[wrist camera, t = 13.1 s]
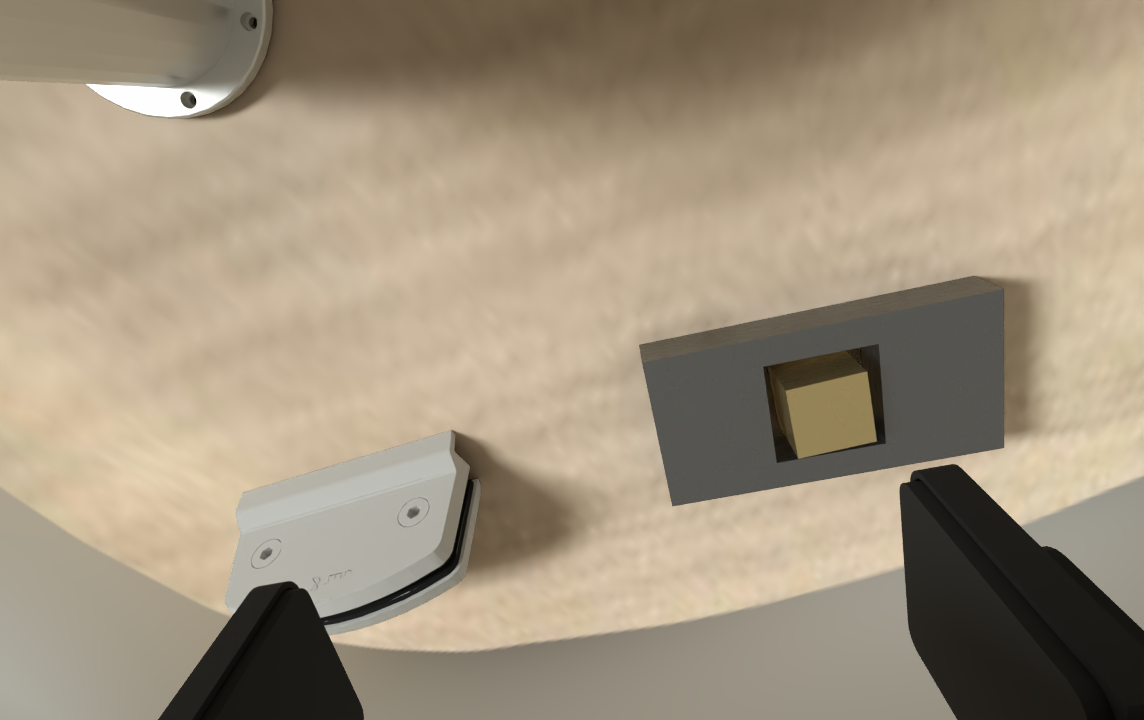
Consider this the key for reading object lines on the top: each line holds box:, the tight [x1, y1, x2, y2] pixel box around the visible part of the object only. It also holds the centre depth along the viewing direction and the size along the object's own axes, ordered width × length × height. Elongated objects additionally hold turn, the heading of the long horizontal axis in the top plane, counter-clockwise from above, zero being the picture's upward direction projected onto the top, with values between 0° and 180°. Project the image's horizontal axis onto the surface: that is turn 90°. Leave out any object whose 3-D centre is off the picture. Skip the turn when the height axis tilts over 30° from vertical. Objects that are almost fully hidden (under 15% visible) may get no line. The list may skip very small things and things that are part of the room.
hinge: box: [225, 430, 482, 635], centre depth 42 cm, size 17×5×10 cm, turn 109°
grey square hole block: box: [639, 276, 1004, 506], centre depth 40 cm, size 10×20×3 cm, turn 103°
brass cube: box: [767, 350, 877, 459], centre depth 39 cm, size 4×4×4 cm
